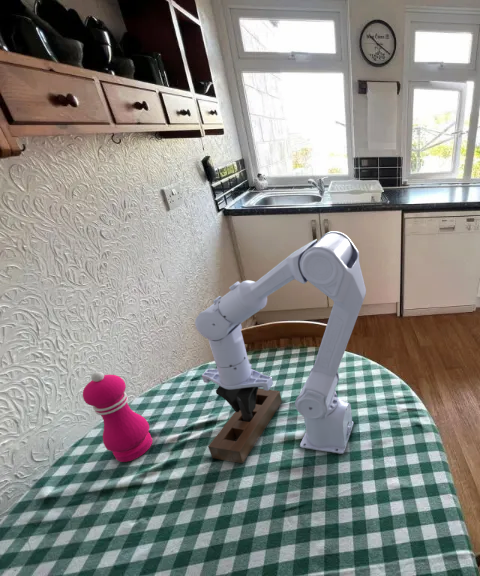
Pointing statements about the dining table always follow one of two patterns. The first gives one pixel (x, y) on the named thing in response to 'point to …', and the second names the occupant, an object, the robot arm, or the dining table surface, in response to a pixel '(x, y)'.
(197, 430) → the dining table surface
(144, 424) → the pepper mill
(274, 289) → the robot arm
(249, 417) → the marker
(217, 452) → the holder
